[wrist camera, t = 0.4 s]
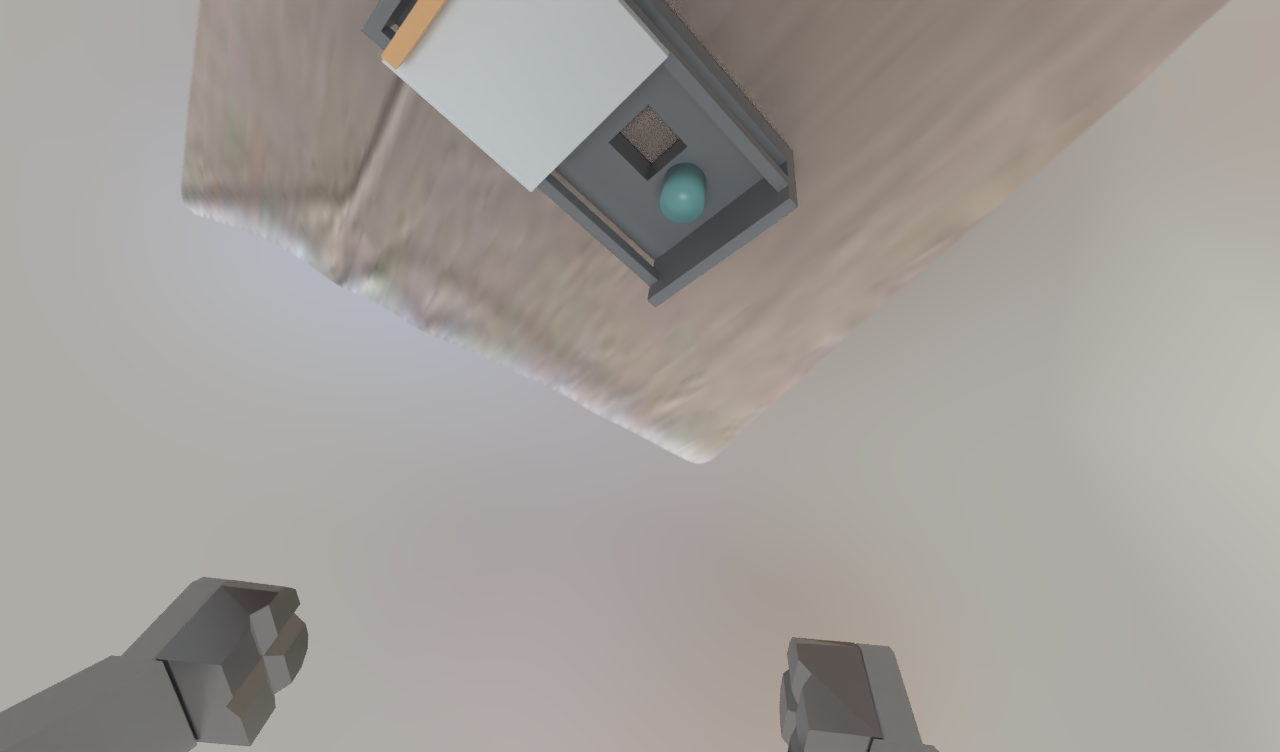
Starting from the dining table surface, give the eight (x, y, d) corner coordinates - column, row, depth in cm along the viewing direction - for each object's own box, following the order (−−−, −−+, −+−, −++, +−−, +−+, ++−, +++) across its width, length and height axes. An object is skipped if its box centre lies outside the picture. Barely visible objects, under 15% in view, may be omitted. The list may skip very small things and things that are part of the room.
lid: (511, -127, 39) (497, -119, 37) (669, 51, 45) (665, 68, 42) (387, 56, 47) (369, 71, 45) (533, 186, 53) (524, 205, 51)
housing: (513, -176, 43) (472, -158, 36) (792, 151, 56) (797, 207, 50) (399, 0, 51) (349, 40, 45) (665, 249, 64) (655, 307, 58)
